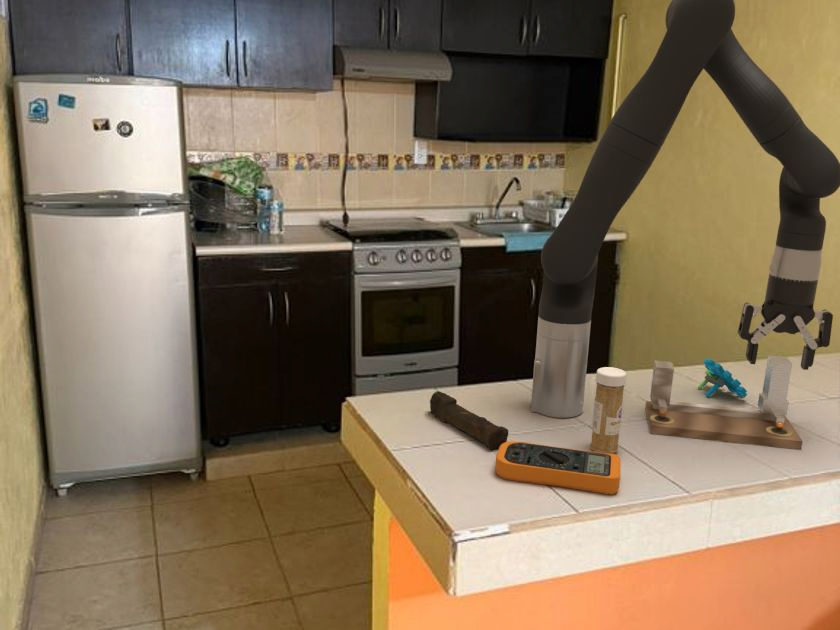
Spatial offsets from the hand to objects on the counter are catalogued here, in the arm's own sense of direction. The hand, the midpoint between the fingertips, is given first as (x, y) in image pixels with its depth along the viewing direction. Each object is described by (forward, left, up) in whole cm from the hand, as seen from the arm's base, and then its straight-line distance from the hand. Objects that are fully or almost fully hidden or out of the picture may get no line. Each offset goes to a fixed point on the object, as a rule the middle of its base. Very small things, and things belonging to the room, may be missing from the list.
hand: (777, 365), depth 135 cm
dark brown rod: (-52, -17, -12) cm, 56 cm away
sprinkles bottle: (-29, -18, -12) cm, 36 cm away
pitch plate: (-9, -3, -11) cm, 15 cm away
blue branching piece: (-6, +15, -12) cm, 20 cm away
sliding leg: (0, -2, -9) cm, 9 cm away
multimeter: (-36, -29, -12) cm, 48 cm away
